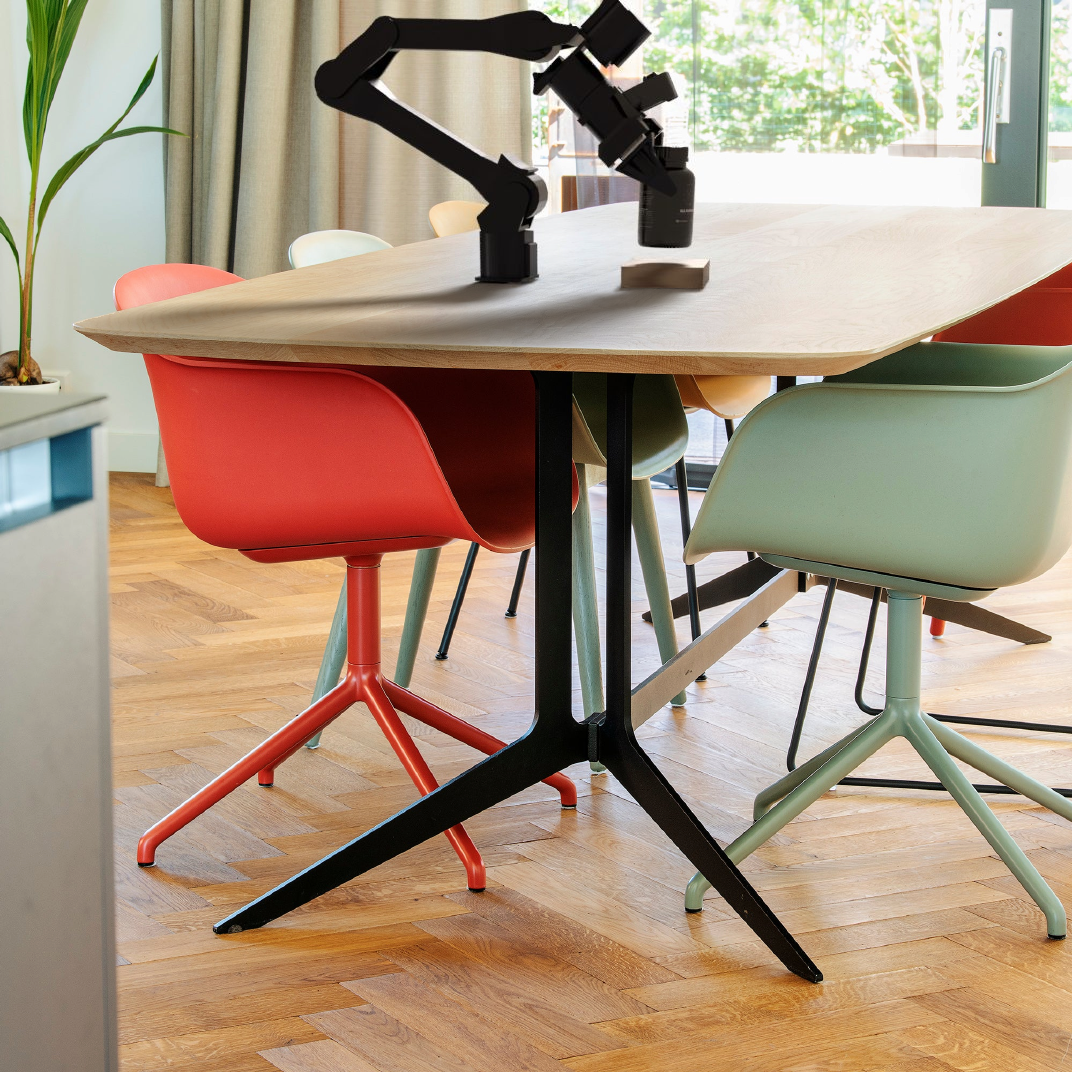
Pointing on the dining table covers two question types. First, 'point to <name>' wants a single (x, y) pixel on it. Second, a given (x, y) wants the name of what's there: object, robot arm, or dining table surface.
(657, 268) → the tan flat square block
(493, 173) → the robot arm
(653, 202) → the supplement bottle
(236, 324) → the dining table surface
